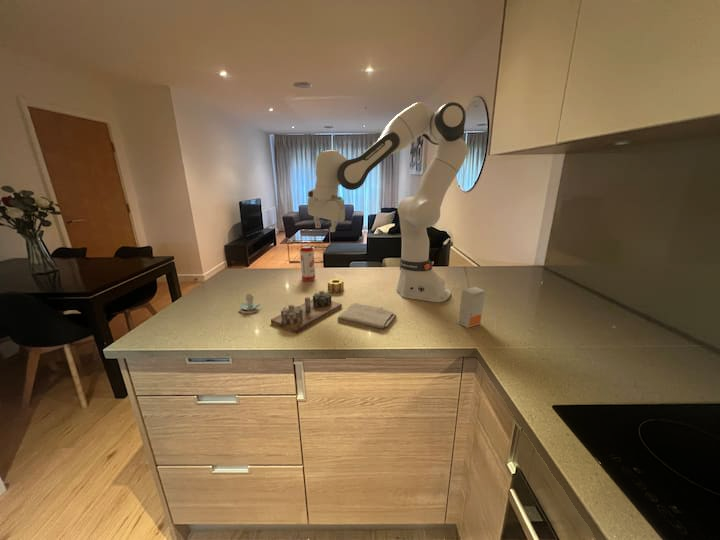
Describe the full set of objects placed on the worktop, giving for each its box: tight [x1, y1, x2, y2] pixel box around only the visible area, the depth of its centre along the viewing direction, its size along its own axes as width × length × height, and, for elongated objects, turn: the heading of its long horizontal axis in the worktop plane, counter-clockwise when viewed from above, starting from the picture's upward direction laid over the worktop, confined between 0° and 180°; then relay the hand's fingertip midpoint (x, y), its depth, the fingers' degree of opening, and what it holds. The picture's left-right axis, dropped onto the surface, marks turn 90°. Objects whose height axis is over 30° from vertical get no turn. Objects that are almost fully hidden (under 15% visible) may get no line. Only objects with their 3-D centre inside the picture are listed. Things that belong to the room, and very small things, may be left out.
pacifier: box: [239, 293, 261, 315], centre depth 106 cm, size 7×6×6 cm
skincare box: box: [457, 286, 486, 329], centre depth 94 cm, size 6×4×12 cm
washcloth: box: [337, 303, 397, 333], centre depth 99 cm, size 12×18×3 cm, turn 65°
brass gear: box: [327, 278, 345, 294], centre depth 125 cm, size 7×7×4 cm
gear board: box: [270, 290, 343, 335], centre depth 102 cm, size 12×23×6 cm, turn 146°
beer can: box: [299, 245, 316, 282], centre depth 137 cm, size 6×6×16 cm
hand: (324, 229), depth 117 cm, fingers open, 8 cm apart
